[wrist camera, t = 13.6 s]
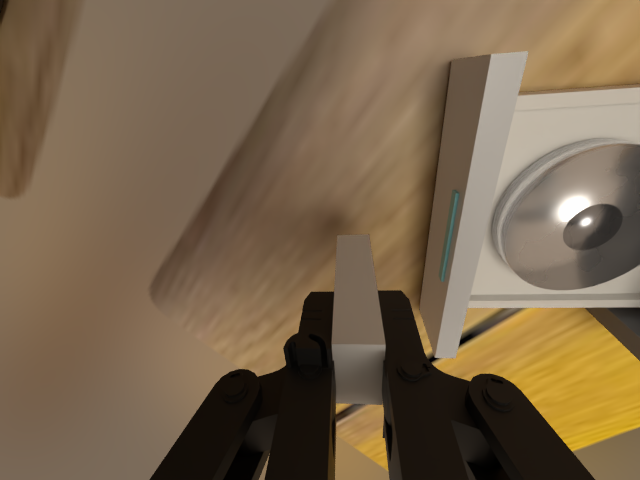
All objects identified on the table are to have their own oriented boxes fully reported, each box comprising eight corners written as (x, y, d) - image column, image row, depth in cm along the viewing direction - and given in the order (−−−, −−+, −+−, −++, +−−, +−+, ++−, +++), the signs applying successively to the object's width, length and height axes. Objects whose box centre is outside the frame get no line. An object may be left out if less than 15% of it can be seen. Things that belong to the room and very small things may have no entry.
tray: (448, 59, 14) (486, 54, 10) (904, 22, 12) (1151, -1, 8) (417, 309, 21) (432, 357, 18) (691, 308, 20) (771, 361, 16)
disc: (500, 153, 14) (518, 162, 13) (685, 124, 13) (726, 130, 12) (484, 280, 18) (497, 297, 17) (626, 265, 17) (652, 282, 16)
